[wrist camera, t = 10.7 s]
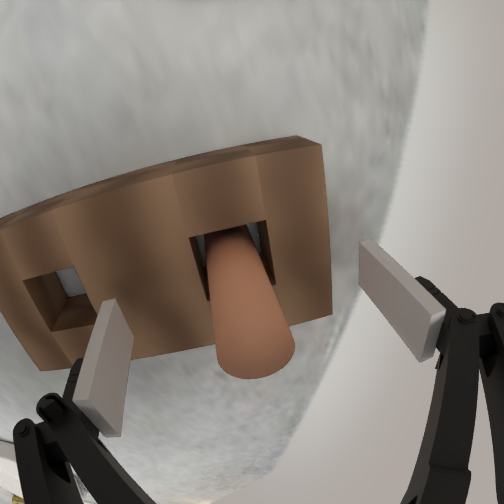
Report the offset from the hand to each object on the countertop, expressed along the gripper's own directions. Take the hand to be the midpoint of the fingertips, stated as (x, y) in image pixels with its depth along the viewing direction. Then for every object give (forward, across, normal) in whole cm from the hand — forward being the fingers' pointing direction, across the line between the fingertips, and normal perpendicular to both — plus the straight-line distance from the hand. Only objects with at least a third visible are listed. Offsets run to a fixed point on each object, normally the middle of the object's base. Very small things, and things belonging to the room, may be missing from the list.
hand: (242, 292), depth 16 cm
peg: (+8, 0, 0) cm, 8 cm away
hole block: (+8, -6, 0) cm, 10 cm away
